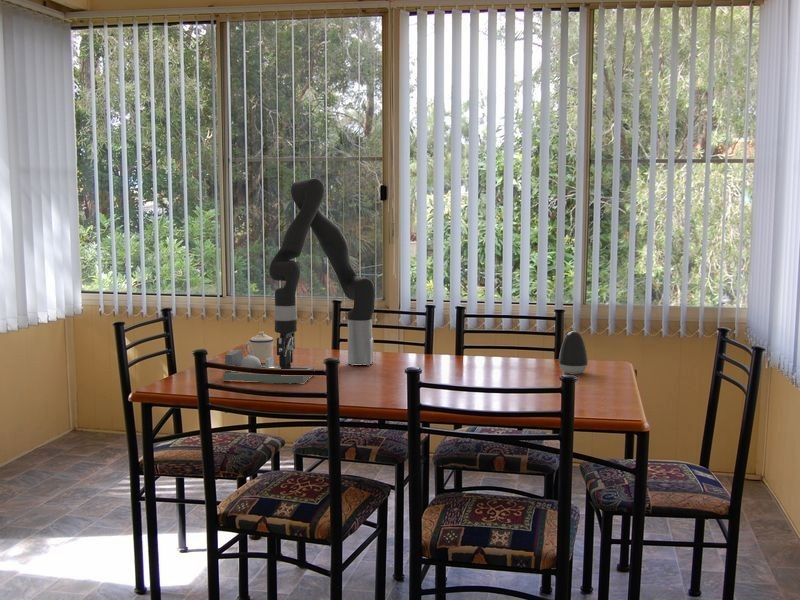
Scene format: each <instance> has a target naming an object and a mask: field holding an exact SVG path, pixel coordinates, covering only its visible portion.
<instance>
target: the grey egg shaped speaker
mask: <svg viewBox="0 0 800 600" xmlns="http://www.w3.org/2000/svg"><path fill="white" fill-rule="evenodd" d="M564 333H565V337H564V339H563V341H562V343H561V348H560V352H559V356H558V365H559V367H560V369H561V371H562V372H563V373H564V374H567V373H573V374H572V375H580V374H582V373H584V371H586V368H587V366H588V363H589V361H588V360H589V359H588V353H587V352H588V351H587V347H586V345H585V342H584V338H583V337H582V335H581V334H580V333H579V332H578V331H574V330H573V331H570V332H569V331H565V332H564Z"/></svg>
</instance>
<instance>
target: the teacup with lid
mask: <svg viewBox="0 0 800 600" xmlns="http://www.w3.org/2000/svg"><path fill="white" fill-rule="evenodd" d="M248 345H250V350H249V351H248ZM243 348H244V352H245V354H247V356H249V355H251V356H255V357H257V358H258V359H259V360H266V359H267V358H269V357H274V337H271V336H269V335H267V334H265V332H264V331H258V334H255V336H253V337H250V338H249V341H248V342H245V343H244V345H243Z"/></svg>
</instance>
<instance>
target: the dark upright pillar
mask: <svg viewBox="0 0 800 600" xmlns="http://www.w3.org/2000/svg"><path fill="white" fill-rule="evenodd" d="M281 352H282V351H281ZM291 365H292V363H291V346H289V350H288V351H287V353H286V367H282V369H291V367H292V366H291ZM264 366H265V368H278V367H274V366H275V356H273V357H269V358H267V359H266V360H265V363H264Z"/></svg>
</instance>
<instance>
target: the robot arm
mask: <svg viewBox="0 0 800 600" xmlns="http://www.w3.org/2000/svg"><path fill="white" fill-rule="evenodd" d="M290 194H291V195H290V196H291V198H292V200H293V202H294V204H295V205H296V207H297V209H298V210H299V212H298V213H297V215H296V216H295V217H294V219H293V220H292V222H291V223H290V225H289V226H288V228H287V230H286V232H285V234H284V238H283V239H282V243H281V247H280V248H279V250H278V251H277V252H276V254H275V256H274V257H273V258H272V261H271V262H270V265H269V270H268V271H269V272H268V273H269V276H270V278H271V279H272V280H274V281H280V282H285V283H284V285H283V287H278V288H276V289H275V290H274V291H275V292H274V313H273V314H274V332H275V333H277V334H279V337H277V338H276V355H277V356H278V358H279V359H278V360H279V361H278V362H279V363H278V365H279V366H280V367H286V353H287V351H288V350H289V346H291V364H293V362H294V361H293V360H294V356H293V355H294V354H293V353H294V350H295V348H296V345H295V344H296V342H295V341H296V340H295V339H296V338H295V337H296V336H295V335H296V334H295V333H296V332H297V329H298V328H297V325H298V324H297V305H296V292H297V289H298V288H297V287H298V283H299V280H300V276H301V267H300V265H299V264H298V262H297V261H295V260H292V259H296V258H299V257H300V255H301V253H302V250H303V247H304V244H305V240H306V237H307V235H308V232H309V229H310V228H311V230H312V232H313V234H314V235H315V237H316V239H317V241H318V243H319V245H320V247H321V249H322V250H323V252H324V254H325V256H326V258H327V259H328V261H329V263H330V265H331V267H332V269H333V271H334V272H335V274H336V277H337V279H338V282H339V284H340V287H341V289H342V292H343V294H344V296H346V298H347V299H349V300H351V301H353V307H352V309H351V310H349V311H348V312H347V364H348V363H349V364H362V365H363V364H371V363H372V362H373V363H374V338H373V314H374V311H375V299H376V298H375V297H376V289H375V284H374V282H373V280H371V278H369V277H365V276H359V275H358V274H357V273H356V271H355V269H354V267H353V266H352V263H351V259H350V248H349V247H350V246H349V243H348V241H347V239H346V237H345V235H344V233H343V232H342V230H341V228H340V227H339V226H338V225H337V224H336V223H335V222H334V221H332V220H331V219H330V218H328V217H327V216H326V215H325V214H324V213H323V212H322V211H321V210H320V209H319V208H320V207H321V205H322V203H323V200H324V198H325V194H326V187H325V185H324V183H323V181H322V180H321V179H319V178H317V177H310V178H307V179H302V180H297V181H294V182H293V183H292V185H291V189H290ZM281 351H282V352H281ZM373 363H372V364H373ZM349 364H348V365H349Z"/></svg>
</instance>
